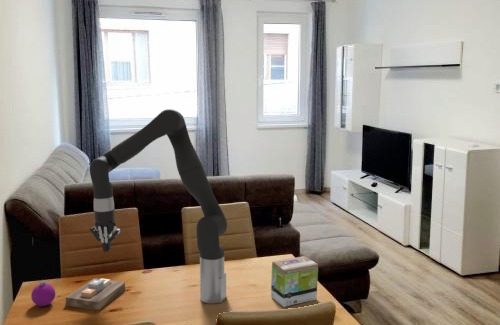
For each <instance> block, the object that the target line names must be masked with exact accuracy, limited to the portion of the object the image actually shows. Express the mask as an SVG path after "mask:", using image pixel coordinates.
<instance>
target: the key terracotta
mask: <svg viewBox="0 0 500 325" xmlns="http://www.w3.org/2000/svg"><path fill="white" fill-rule="evenodd" d="M96 294H97V289H94V288H86V289H85V290H83V291H82V292H81V297H86V298H92V297H93V296H95V295H96Z"/></svg>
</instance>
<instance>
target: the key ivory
mask: <svg viewBox="0 0 500 325" xmlns="http://www.w3.org/2000/svg"><path fill="white" fill-rule="evenodd" d="M99 279H100V280H102V281H104V289H105V288H106V287H107V286H109V285H110V280H111V279H109V278H102V277H101V278H99ZM101 291H102V290H101Z"/></svg>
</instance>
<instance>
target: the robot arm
mask: <svg viewBox="0 0 500 325" xmlns="http://www.w3.org/2000/svg"><path fill="white" fill-rule="evenodd" d="M164 136H167V138H168V139H169V143H170V144H171V146H172V149H173V153H174V157H175V163H176V169H177V172H178V174H179V177H180V179H181V182H182V184H183V186H184V188H185V189H186V190H187V192H188V193H189V194H190V195H191V196H192V197H193V198H194V199H195V200H196V201H197V203H198V204H199V206H200V208H201V211H202V214H203V215H204V216H202V217H201V218H200V219H198V220H197V224H196V244H197V251H198V252H199V281H200V282H199V284H200V285H199V286H200V287H199V288H200V290H199V291H200V292H199V296H200V297H199V298H200V301H201V302H202V303H205V304H222V303H223V301H224V300H225V299H226V298H227V273H226V272H225V249H224V247H223V246H222V245H220V236H222V235H224V234H225V233H226V232H227V229H228V221H227V218H226V216H225V214H224V212H223V210H222V208H221V207H220V204H219V203H218V200H217V199H216V197H215V195H214V191H213V189H212V187H211V184H210V181H209V179H208V177H207V174H206V171H205V169H204V167H203V164H202V162H201V159H200V158H199V155H198V153H197V151H196V149H195V147H194V145H193V144H192V141H191V137H190V134H189V131H188V128H187V124H186V121H185V118H184V116H183V114H182V113H181V112H179V111H178V110H176V109H172V108H171V109H170V108H169V109H168V108H167V109H164V110H162V111H161V112H160V113H158V115H156V116H155V117H154V118H153V119H152V120H150V122H149V123H148V124H146V125H145V126H144V127H143V128H141V129H139V130H138V131H137V132H135V133H134V134H132V135H131V136H129V137H128V138H126V139H124V140H123V141H121V142H119V143H118V144H117V145H115V146H113V147H112V148H111V150H109V151H106V152H105V153H104V154H102V155H100V156H99V157H96V158H95V159H93V160H92V161H91V163H89V164H90V165H89V175H90V179H91V184H92V187H93V188H92V189H93V215H94V222H95V223H94V225H93V227H91V228H89V231H90V233H91V234H92V235H93V237H94V238H95V239H96V241H98V242H101V243H102V244H101V245H102V251H103V252H104V253H109V252H110V251H111V249H112V242H114V241H115V240H116V239H117V237H118V236H119V235H120V233H121V232H122V228H118V227H117V225H116V222H115V219H116V214H115V202H114V201H115V200H114V193H113V190H114V189H113V184H112V182H111V181H110V174H109V173H110V172H112V171H113V170H115V169H116V168H117V167H119V166H120V165H122V164H124V163H126V162H128V161H130V160H131V159H133V158H135V156H137V155H138V154H140V153H141V152H143V150H145V148H146V147H148V146H149V145H150V144H151V143H153V142H154V141H156V140H158V139H159V138H162V137H164Z"/></svg>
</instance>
